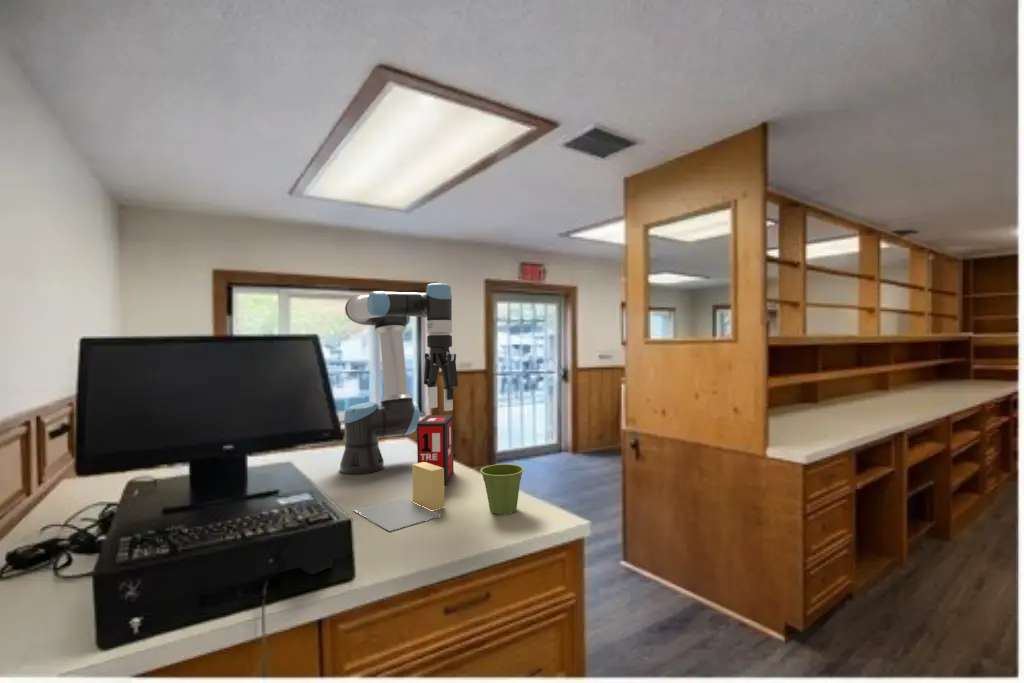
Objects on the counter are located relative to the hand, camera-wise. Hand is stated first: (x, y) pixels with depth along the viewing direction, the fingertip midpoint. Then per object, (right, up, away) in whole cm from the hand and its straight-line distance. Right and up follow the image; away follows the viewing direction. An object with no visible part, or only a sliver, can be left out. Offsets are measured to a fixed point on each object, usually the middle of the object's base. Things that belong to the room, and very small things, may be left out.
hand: (440, 409), depth 151 cm
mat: (-9, -25, -19) cm, 33 cm away
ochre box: (-2, -25, -12) cm, 28 cm away
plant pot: (+19, -25, -18) cm, 36 cm away
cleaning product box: (-3, -25, +13) cm, 29 cm away
